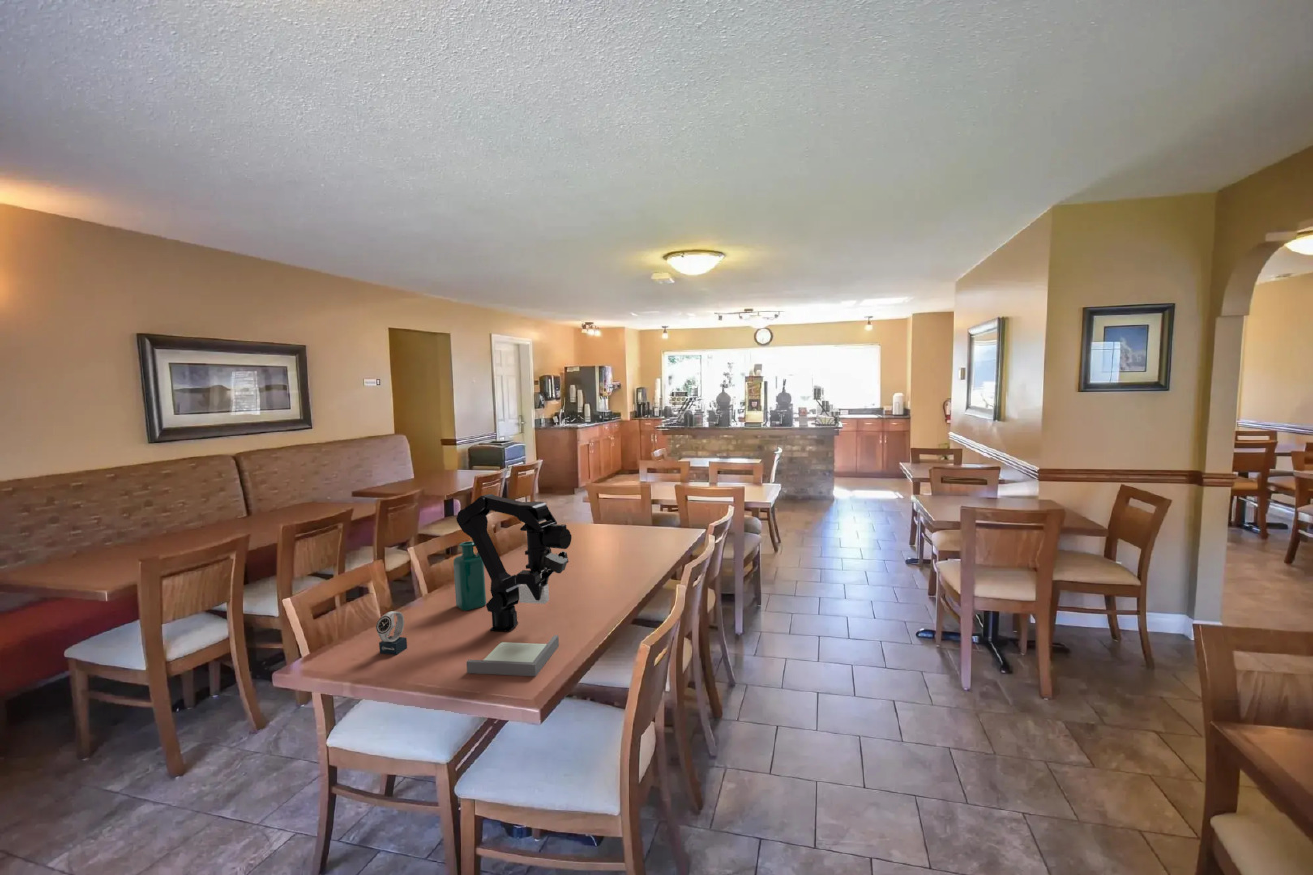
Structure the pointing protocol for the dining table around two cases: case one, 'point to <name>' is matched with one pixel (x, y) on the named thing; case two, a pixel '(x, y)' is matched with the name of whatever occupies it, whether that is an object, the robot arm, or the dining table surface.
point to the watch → (384, 627)
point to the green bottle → (469, 578)
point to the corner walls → (514, 663)
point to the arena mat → (515, 652)
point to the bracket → (528, 597)
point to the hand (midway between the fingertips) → (540, 598)
